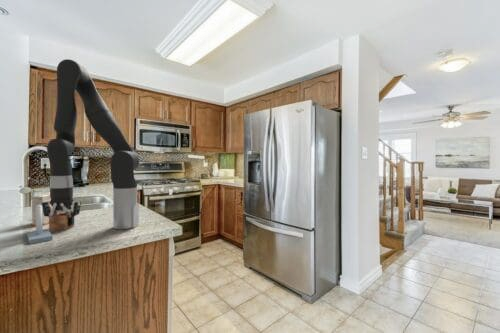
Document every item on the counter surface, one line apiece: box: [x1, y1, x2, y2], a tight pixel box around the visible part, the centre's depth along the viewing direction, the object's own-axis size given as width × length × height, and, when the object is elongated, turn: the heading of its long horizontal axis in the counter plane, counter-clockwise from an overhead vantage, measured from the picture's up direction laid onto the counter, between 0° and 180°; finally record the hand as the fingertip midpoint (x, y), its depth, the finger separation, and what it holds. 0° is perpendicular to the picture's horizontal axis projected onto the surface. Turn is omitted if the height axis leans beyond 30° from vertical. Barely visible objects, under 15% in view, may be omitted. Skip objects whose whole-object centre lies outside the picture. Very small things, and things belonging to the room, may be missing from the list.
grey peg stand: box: [26, 205, 53, 245], centre depth 84 cm, size 12×6×12 cm, turn 47°
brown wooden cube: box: [48, 212, 75, 232], centre depth 96 cm, size 6×6×6 cm
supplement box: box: [31, 192, 52, 227], centre depth 104 cm, size 8×5×13 cm, turn 5°
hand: (62, 225), depth 96 cm, fingers closed on brown wooden cube, 6 cm apart
